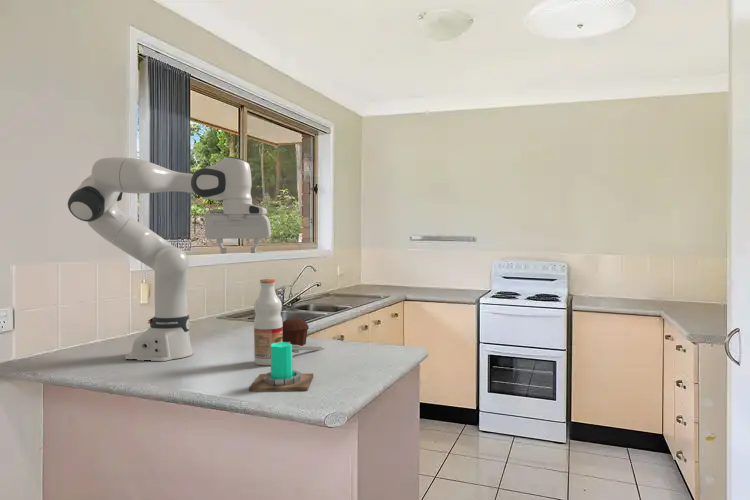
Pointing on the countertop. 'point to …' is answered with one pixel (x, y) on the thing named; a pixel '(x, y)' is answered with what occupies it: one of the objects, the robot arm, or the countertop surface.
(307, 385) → the ring board
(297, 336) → the muffin
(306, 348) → the caliper
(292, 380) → the ring collar
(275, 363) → the candle
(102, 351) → the countertop surface
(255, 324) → the fruit juice
